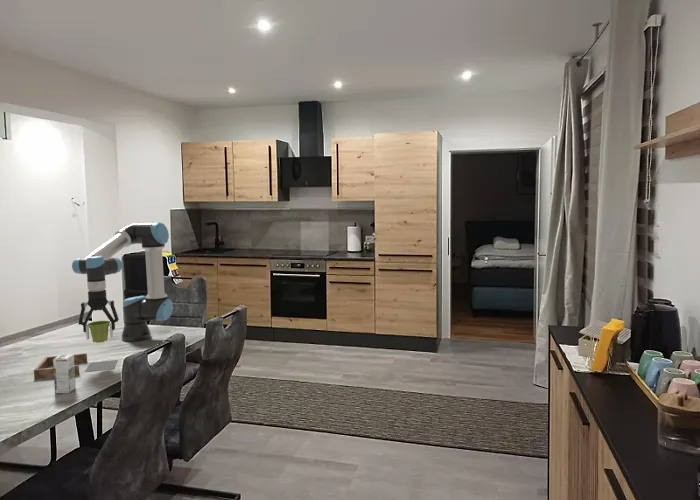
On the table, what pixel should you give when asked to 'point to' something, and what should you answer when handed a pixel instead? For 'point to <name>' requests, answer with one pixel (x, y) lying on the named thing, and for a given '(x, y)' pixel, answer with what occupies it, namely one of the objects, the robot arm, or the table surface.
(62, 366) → the syrup box
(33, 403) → the table surface
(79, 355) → the walnut bay
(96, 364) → the charcoal mat
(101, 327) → the plant pot
